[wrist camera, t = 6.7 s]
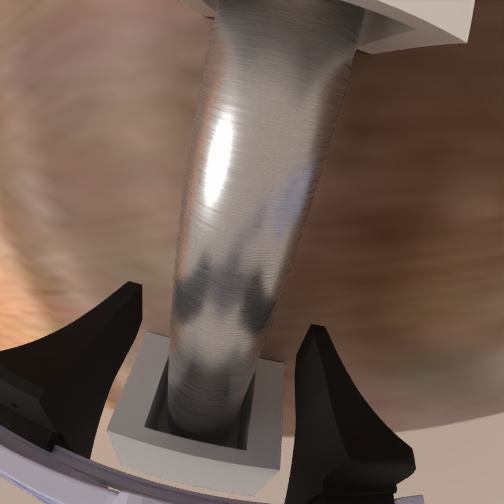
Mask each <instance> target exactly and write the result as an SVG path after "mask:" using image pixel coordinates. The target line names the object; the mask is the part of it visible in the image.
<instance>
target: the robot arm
mask: <svg viewBox="0 0 504 504" xmlns="http://www.w3.org/2000/svg"><path fill="white" fill-rule="evenodd" d="M142 319H143V318H142V285H141V284H138V283H134V282H130V281H129V282H127V283H126V284H124V285H123V286H122V287H121V288H119V289H118V290H117V291H116V292H114V293H113V294H112V295H110V296H109V297H108V298H107V299H105V300H104V301H103V302H101V303H100V304H99V305H97V306H96V307H95V308H93V309H92V310H90V311H89V312H87V313H86V314H84V315H83V316H81V317H80V318H79V319H77V320H75V321H74V322H72V323H70V324H69V325H67V326H65V327H63V328H62V329H60V330H58V331H56V332H54V333H52V334H49V335H47V336H45V337H43V338H41V339H38V340H36V341H33V342H30V343H27V344H24V345H22V346H18V347H15V348H11V349H7V350H3V351H0V476H1V477H3V478H5V479H6V480H7V481H9V482H11V483H12V484H14V485H15V486H17V487H19V488H20V489H22V490H23V491H25V492H27V493H28V494H30V495H32V496H34V497H35V498H37V499H39V500H41V501H43V502H45V503H46V504H267V503H258V502H250V501H242V500H235V499H229V498H223V497H217V496H212V495H207V494H202V493H197V492H192V491H188V490H183V489H179V488H175V487H171V486H167V485H164V484H160V483H156V482H153V481H149V480H146V479H143V478H140V477H136V476H133V475H130V474H127V473H124V472H121V471H119V470H116V469H113V468H110V467H107V466H105V465H102V464H99V463H97V462H94V461H92V460H90V457H91V452H92V448H93V444H94V439H95V436H96V432H97V428H98V425H99V421H100V418H101V415H102V411H103V408H104V405H105V402H106V399H107V397H108V394H109V391H110V388H111V386H112V383H113V381H114V379H115V377H116V375H117V373H118V371H119V369H120V367H121V365H122V363H123V361H124V359H125V357H126V355H127V354H128V352H129V350H130V348H131V346H132V344H133V342H134V340H135V338H136V335H137V333H138V330H139V327H140V325H141V322H142ZM295 408H296V430H295V441H294V449H293V457H292V465H291V471H290V477H289V483H288V489H287V494H286V499H285V503H284V504H424V498H423V495H417V496H409V497H401V498H397V499H394V496H393V494H394V493H396V492H397V486H396V484H398V483H399V482H401V481H403V480H404V479H406V478H408V477H409V476H410V475H411V474H413V473H414V471H415V470H416V466H415V459H414V454H413V450H412V448H411V447H410V446H409V445H408V444H406V443H405V442H404V441H403V440H401V439H400V438H399V437H398V436H397V435H396V434H395V433H394V432H393V431H392V430H391V429H390V428H389V427H388V426H387V425H386V424H385V423H384V422H383V421H382V420H381V419H380V418H379V417H378V416H377V414H376V413H375V412H374V411H373V410H372V409H371V407H370V406H369V405H368V403H367V402H366V401H365V399H364V398H363V397H362V395H361V394H360V392H359V391H358V389H357V388H356V386H355V385H354V383H353V381H352V380H351V378H350V376H349V374H348V373H347V371H346V369H345V367H344V365H343V363H342V361H341V359H340V357H339V355H338V353H337V351H336V349H335V347H334V345H333V343H332V341H331V338H330V336H329V334H328V332H327V330H326V328H325V327H324V326H319V325H314V324H311V325H310V327H309V330H308V332H307V334H306V336H305V338H304V340H303V342H302V345H301V347H300V349H299V351H298V353H297V355H296V365H295ZM108 486H109V487H112V488H114V489H117V490H120V491H121V492H118V491H115V490H111V489H108Z"/></svg>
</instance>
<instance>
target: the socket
mask: <svg viewBox="0 0 504 504" xmlns="http://www.w3.org/2000/svg"><path fill="white" fill-rule="evenodd" d="M169 345H170V338H169V337H165V336H162V335H158V334H154V333H151V332H148V333H147V335H146V337H145V340H144V342H143V344H142V346H141V349H140V351H139V353H138V355H137V358H136V360H135V362H134V365H133V367H132V369H131V372H130V374H129V376H128V379H127V381H126V383H125V386H124V388H123V391H122V393H121V395H120V398H119V400H118V403H117V405H116V408H115V410H114V413H113V415H112V418H111V420H110V423H109V425H108V428H107V433H108V435H109V438H110V440H111V443H112V445H113V448H114V450H115V453H116V455H117V458H118V460H119V462H120V464H121V466H123V467H126V468H129V469H132V470H135V471H138V472H142V473H145V474H148V475H152V476H155V477H159V478H162V479H166V480H170V481H174V482H178V483H182V484H186V485H191V486H195V487H200V488H205V489H210V490H216V491H221V492H227V493H234V494H241V495H248V496H255V495H256V494H257V493H258V492H259V491H260V490H261V489H262V488H263V487H264V486H265V485H266V483H268V482H269V481H270V480H271V479H272V478H273V477H274V475H275V474H276V473H277V472H278V471H279V470H280V460H281V441H282V420H283V395H284V364H285V363H282V362H276V361H271V360H265V359H260V358H259V359H258V362H257V365H256V367H255V370H254V373H253V376H252V378H251V381H250V383H249V386H248V389H247V391H246V394H245V397H244V399H243V402H242V404H241V407H240V410H239V412H238V415H237V417H236V420H235V422H234V425H233V427H232V430H231V432H230V435H229V437H228V439H227V440H226V441H225V443H224V444H222V445H221V446H218V445H213V444H208V443H204V442H199V441H195V440H191V439H186V438H182V437H178V436H174V435H171V434H170V432H169V429H168V423H167V413H168V369H169Z"/></svg>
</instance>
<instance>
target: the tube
mask: <svg viewBox="0 0 504 504" xmlns="http://www.w3.org/2000/svg"><path fill="white" fill-rule="evenodd" d="M365 12H366V8H363V7H360V6H357V5H354V4H351V3H348V2H345V1H341V0H219V3H218V7H217V11H216V15H215V19H214V24H213V28H212V32H211V37H210V41H209V46H208V50H207V55H206V60H205V65H204V69H203V74H202V79H201V85H200V90H199V95H198V101H197V106H196V112H195V118H194V123H193V129H192V136H191V142H190V148H189V155H188V161H187V168H186V175H185V183H184V190H183V198H182V206H181V214H180V223H179V232H178V241H177V251H176V261H175V272H174V284H173V297H172V311H171V327H170V345H169V369H168V413H167V423H168V429H169V432H170V434H171V435H174V436H178V437H182V438H186V439H191V440H195V441H199V442H204V443H208V444H213V445H218V446H221V445H222V444H224V443H225V441H226V440H227V439H228V437H229V435H230V432H231V430H232V427H233V425H234V422H235V420H236V417H237V415H238V412H239V410H240V407H241V404H242V402H243V399H244V397H245V394H246V391H247V389H248V386H249V383H250V381H251V378H252V376H253V373H254V370H255V367H256V365H257V362H258V359H259V357H260V354H261V351H262V349H263V346H264V343H265V340H266V338H267V335H268V332H269V329H270V326H271V324H272V321H273V318H274V315H275V312H276V309H277V307H278V304H279V301H280V298H281V295H282V292H283V289H284V286H285V284H286V281H287V278H288V275H289V272H290V269H291V266H292V263H293V260H294V257H295V254H296V251H297V248H298V245H299V242H300V239H301V236H302V233H303V230H304V226H305V223H306V220H307V217H308V214H309V211H310V208H311V204H312V201H313V198H314V195H315V192H316V189H317V185H318V182H319V179H320V176H321V172H322V169H323V166H324V162H325V159H326V156H327V152H328V149H329V146H330V142H331V139H332V135H333V132H334V128H335V125H336V121H337V118H338V114H339V111H340V107H341V104H342V100H343V97H344V93H345V89H346V86H347V82H348V78H349V75H350V71H351V67H352V63H353V59H354V56H355V52H356V48H357V44H358V40H359V36H360V32H361V28H362V24H363V20H364V16H365Z"/></svg>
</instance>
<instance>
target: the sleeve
mask: <svg viewBox="0 0 504 504" xmlns="http://www.w3.org/2000/svg"><path fill="white" fill-rule="evenodd" d="M179 1H181V2H183V3H184V4H186V5H187V6H189V7H190V8H192V9H194V10H195V11H197V12H198V13H200V14H201V15H203V16H207V17H215V15H216V11H217V7H218V3H219V0H179ZM341 1H345V2H348V3H351V4H354V5H357V6H360V7H363V8H366V12H365V16H364V20H363V24H362V28H361V32H360V36H359V40H358V44H357V48H356V49H358V50H361V51H363V52H366V53H369V54H377V53H383V52H389V51H395V50H402V49H409V48H417V47H425V46H435V45H446V44H459V43H467V41H468V36H469V31H470V26H471V20H472V15H473V9H474V2H475V0H341Z"/></svg>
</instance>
